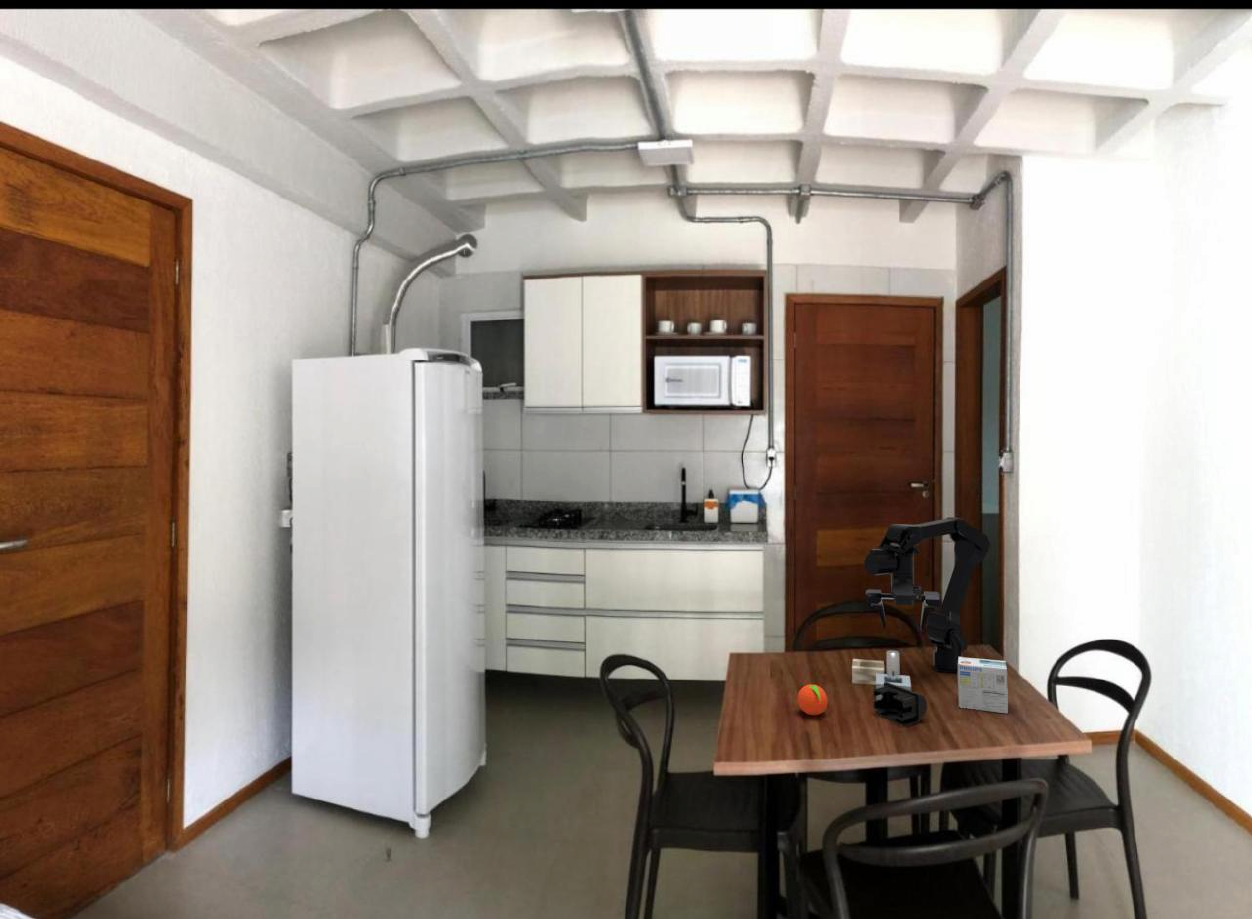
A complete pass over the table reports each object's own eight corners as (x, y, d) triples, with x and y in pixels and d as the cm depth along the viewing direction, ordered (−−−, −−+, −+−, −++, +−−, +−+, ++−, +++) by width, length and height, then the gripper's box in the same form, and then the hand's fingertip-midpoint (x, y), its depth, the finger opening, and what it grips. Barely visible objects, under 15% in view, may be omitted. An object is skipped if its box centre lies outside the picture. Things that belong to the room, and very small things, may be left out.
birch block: (884, 675, 196) (883, 661, 196) (884, 685, 189) (884, 670, 189) (853, 673, 199) (852, 658, 199) (852, 683, 191) (852, 668, 191)
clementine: (835, 720, 167) (834, 690, 167) (806, 723, 166) (806, 692, 166) (820, 707, 175) (819, 678, 175) (793, 710, 174) (792, 680, 173)
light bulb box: (1007, 704, 174) (1006, 660, 174) (1008, 714, 168) (1008, 668, 167) (958, 699, 178) (957, 655, 178) (957, 708, 172) (957, 663, 172)
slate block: (909, 691, 184) (909, 676, 184) (911, 702, 176) (911, 686, 176) (876, 688, 187) (876, 673, 186) (876, 699, 179) (876, 683, 179)
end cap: (928, 721, 165) (927, 692, 165) (906, 728, 162) (905, 698, 162) (893, 707, 174) (892, 679, 174) (871, 713, 171) (871, 685, 170)
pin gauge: (899, 690, 182) (899, 651, 182) (899, 694, 179) (899, 654, 179) (886, 689, 183) (886, 650, 183) (887, 693, 180) (886, 653, 180)
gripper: (865, 576, 189) (866, 635, 189) (943, 579, 183) (944, 640, 184) (865, 568, 200) (866, 624, 200) (939, 570, 194) (940, 628, 194)
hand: (903, 629), depth 194 cm, fingers open, 9 cm apart
